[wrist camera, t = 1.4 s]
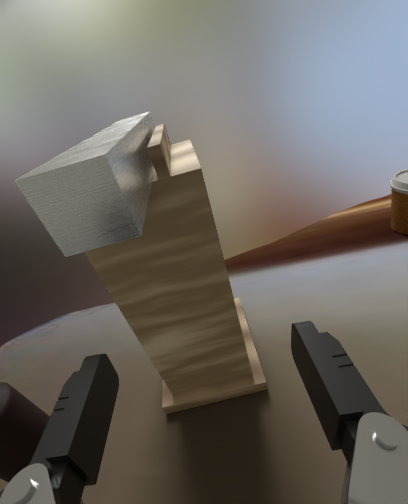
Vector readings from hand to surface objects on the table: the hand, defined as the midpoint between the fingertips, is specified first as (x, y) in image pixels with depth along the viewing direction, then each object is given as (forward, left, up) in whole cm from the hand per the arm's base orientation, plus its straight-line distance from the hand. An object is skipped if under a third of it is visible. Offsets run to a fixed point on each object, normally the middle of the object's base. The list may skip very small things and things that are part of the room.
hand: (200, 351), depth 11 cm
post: (-12, -17, -28) cm, 35 cm away
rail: (-10, -15, +4) cm, 18 cm away
